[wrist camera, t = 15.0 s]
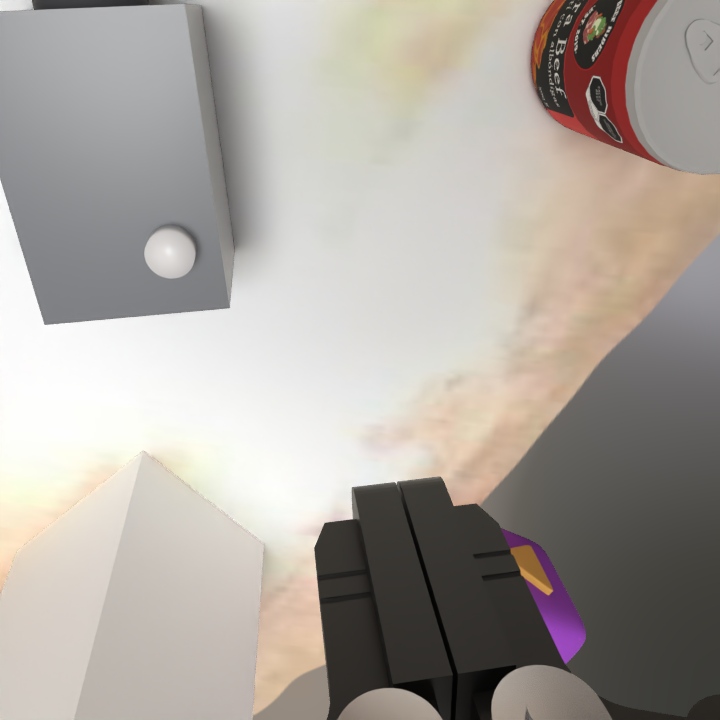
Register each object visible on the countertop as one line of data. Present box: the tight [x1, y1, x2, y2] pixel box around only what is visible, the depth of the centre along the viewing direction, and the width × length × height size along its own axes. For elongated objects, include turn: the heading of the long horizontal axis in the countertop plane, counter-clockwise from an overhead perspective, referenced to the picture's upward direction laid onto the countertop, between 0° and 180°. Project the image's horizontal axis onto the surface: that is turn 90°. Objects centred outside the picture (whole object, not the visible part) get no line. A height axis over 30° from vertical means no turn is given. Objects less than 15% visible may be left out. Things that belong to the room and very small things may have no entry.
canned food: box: [531, 0, 720, 175], centre depth 29 cm, size 8×8×11 cm
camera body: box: [0, 0, 235, 325], centre depth 28 cm, size 15×8×9 cm, turn 2°
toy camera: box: [501, 528, 586, 664], centre depth 46 cm, size 11×14×10 cm
